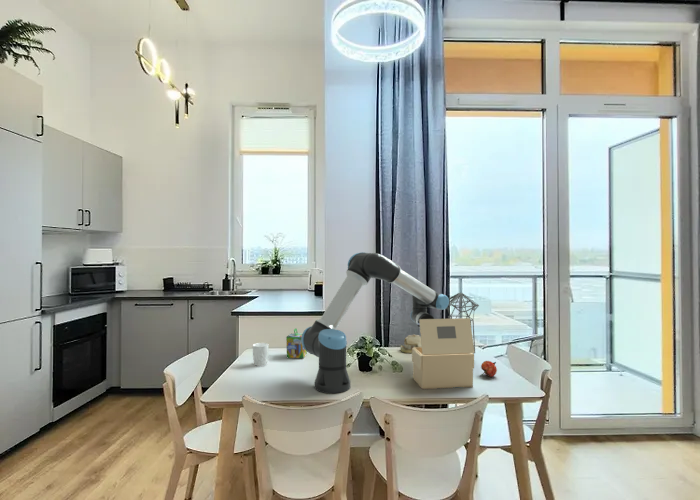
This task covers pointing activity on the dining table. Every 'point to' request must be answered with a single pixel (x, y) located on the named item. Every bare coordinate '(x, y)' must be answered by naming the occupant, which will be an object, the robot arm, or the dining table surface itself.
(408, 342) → the ceramic model
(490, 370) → the pomegranate
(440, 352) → the lid flap
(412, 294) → the robot arm
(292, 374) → the dining table surface
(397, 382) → the dining table surface
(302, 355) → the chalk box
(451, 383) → the carton
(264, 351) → the white cup
